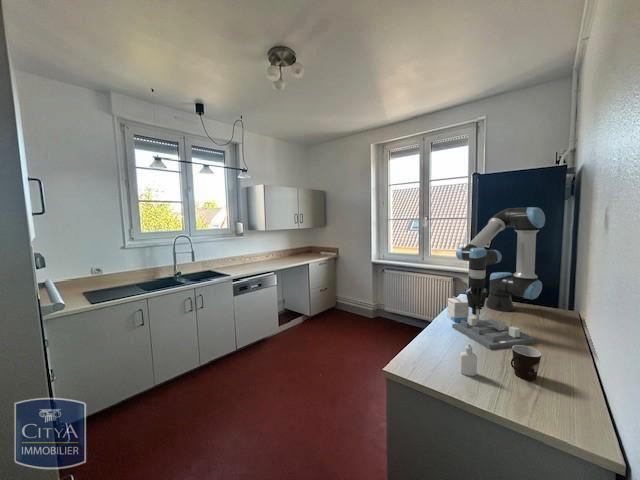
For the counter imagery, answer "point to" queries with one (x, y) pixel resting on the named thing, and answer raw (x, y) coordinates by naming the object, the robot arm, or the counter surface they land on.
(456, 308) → the ink box
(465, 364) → the eye dropper bottle
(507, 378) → the counter surface
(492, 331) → the switch board
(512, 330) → the tab
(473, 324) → the tab
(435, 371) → the counter surface
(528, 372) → the coffee mug
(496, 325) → the tab
